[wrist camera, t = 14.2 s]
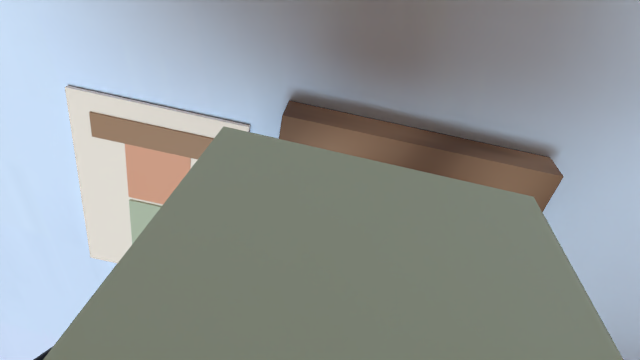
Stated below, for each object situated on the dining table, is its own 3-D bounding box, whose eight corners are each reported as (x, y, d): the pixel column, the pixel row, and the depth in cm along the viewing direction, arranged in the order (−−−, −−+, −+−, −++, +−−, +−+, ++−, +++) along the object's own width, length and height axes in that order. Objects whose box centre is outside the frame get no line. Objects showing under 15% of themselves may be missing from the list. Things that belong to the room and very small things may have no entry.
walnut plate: (550, 157, 18) (563, 176, 16) (456, 326, 24) (460, 350, 22) (289, 100, 18) (282, 115, 16) (260, 284, 24) (254, 306, 22)
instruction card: (250, 125, 18) (248, 128, 18) (233, 285, 24) (231, 289, 24) (67, 85, 18) (63, 88, 18) (92, 255, 24) (89, 258, 24)
